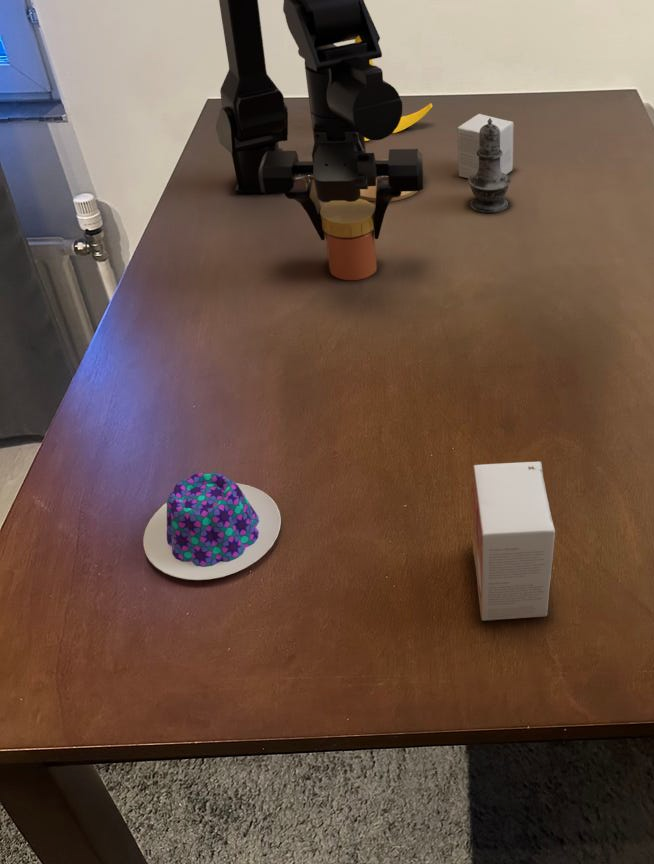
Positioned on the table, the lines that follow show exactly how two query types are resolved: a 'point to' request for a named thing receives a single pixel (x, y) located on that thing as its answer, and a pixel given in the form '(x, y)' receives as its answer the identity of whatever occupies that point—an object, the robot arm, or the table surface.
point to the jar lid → (347, 218)
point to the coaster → (371, 194)
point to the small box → (512, 540)
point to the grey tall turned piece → (489, 173)
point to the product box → (470, 144)
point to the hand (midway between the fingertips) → (349, 238)
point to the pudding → (211, 528)
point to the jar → (351, 256)
